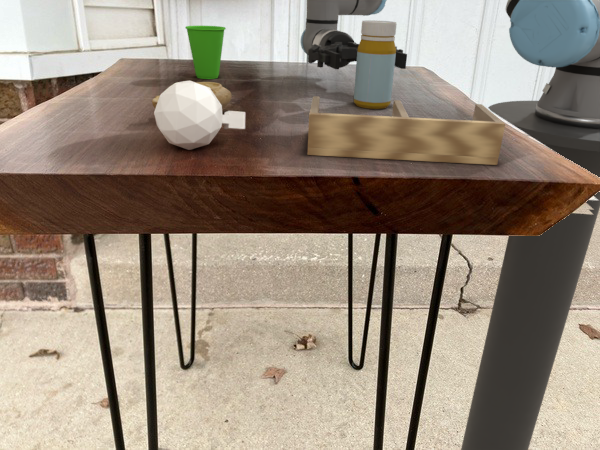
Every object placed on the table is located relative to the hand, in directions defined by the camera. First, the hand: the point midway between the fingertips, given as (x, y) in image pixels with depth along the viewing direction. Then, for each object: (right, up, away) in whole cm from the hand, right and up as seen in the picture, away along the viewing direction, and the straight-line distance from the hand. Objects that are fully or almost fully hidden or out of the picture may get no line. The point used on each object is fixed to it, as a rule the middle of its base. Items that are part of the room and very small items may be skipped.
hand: (371, 61), depth 99 cm
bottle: (0, -8, +2) cm, 8 cm away
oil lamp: (-31, -13, -11) cm, 35 cm away
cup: (-35, +4, +24) cm, 43 cm away
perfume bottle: (-27, -20, -27) cm, 43 cm away
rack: (0, -20, -24) cm, 31 cm away
